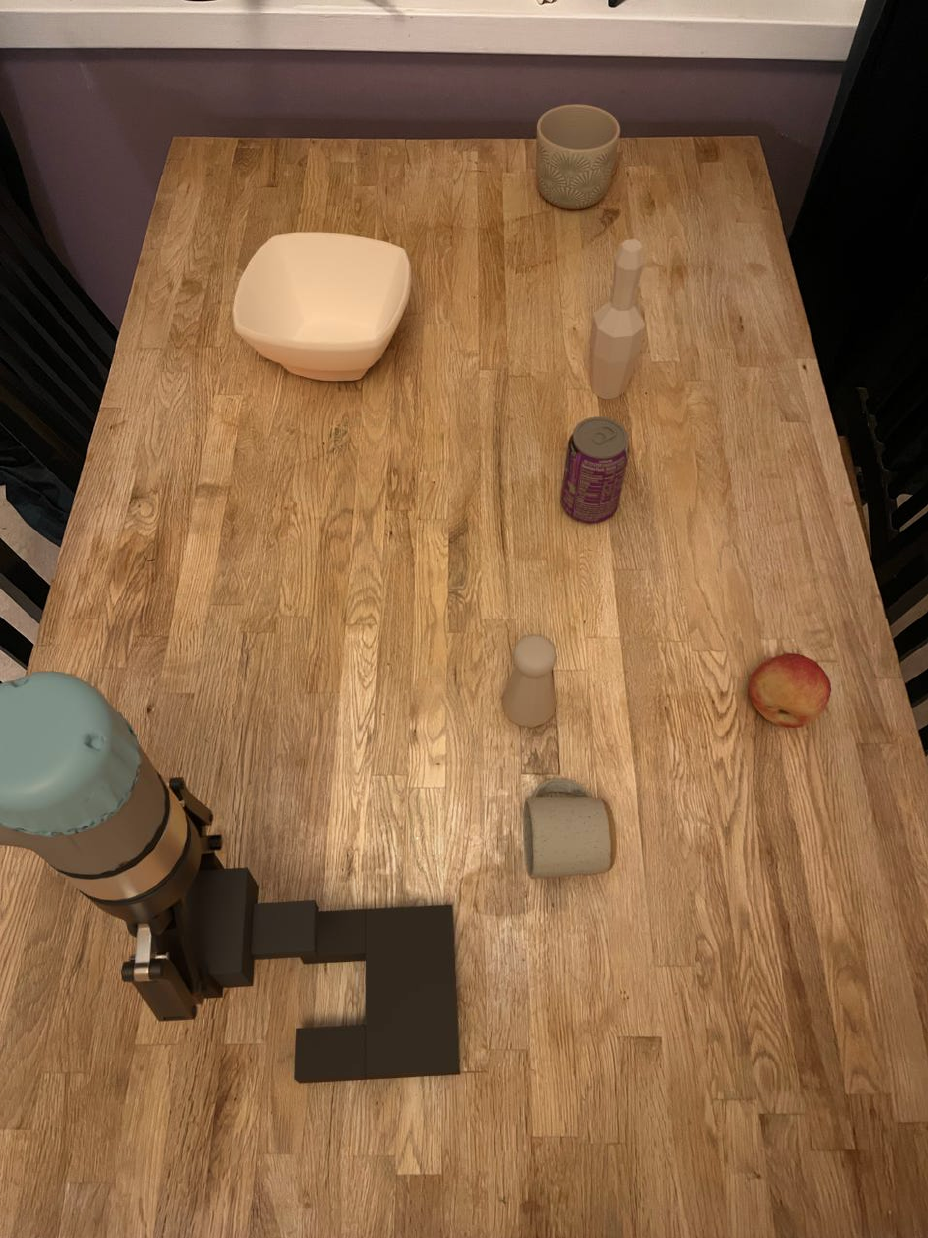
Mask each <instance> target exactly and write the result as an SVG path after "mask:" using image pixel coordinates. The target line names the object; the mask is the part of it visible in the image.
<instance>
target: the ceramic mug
mask: <svg viewBox="0 0 928 1238" xmlns="http://www.w3.org/2000/svg"><path fill="white" fill-rule="evenodd" d="M536 787H537V788H536V789H535V790H534V792H533V794H532V796H528V797H526V798H525V799H524V801H523V811H522V838H523V853H524V862H525V867H526V872H527V876H528V877H529V878H530V879H532V880H539V879H552V878H554V879H555V878H568V877H569V878H570V877H580V876H581V877H582V876H596V875H600V874H605V873H608V872H609V871H611V869H612V868H613V867H614V865H615V864H616V859H617V829H616V821H615V817H614V813H613V810H612V808H611V806H610V804H609V803H608V802H607V801H606V800H605V799H602V798H599V797H598V798H597V797H592V796H591V793H590V792H589V791H588V789H586V787H585V786H583V785H581V784H580V783H578V782H576V781H574V780H571V779H564V778H553V779H548V780H544V781H543V782H541V784H539V785H538V786H536ZM549 793H561V794H563V793H564V794H570V795H571V794H572V795H575V796H576V797H575V796H574V797H573V796H572V797H563V796H561V797H559V796H556V797H555V796H543V795H545V794H549Z"/></svg>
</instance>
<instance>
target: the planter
mask: <svg viewBox="0 0 928 1238" xmlns="http://www.w3.org/2000/svg"><path fill="white" fill-rule="evenodd" d="M620 133H621V126H620V124H619V122H618V120H617V118H616V117H614V116H613V115H612V114H611V113H610V112H608V111H607V110H604V109H602V108H599V107H596V106H592V105H588V104H577V103H576V104H575V103H573V104H564V105H560V106H556V107H553V108H551V109H550V110H548V111H546V112H545V113H542V115H541V116H540V117H539V119H538V121H537V123H536V142H535V143H536V144H535V145H536V147H535V176H536V184H537V188H538V191H539V193H540V195H541V196H542V197H543V199H545V200H546V201H547V202H548V203H549V204H551V205H553V206H555V207H557V208H562V209H565V210H581V209H582V210H583V209H587V208H589V207H592V206H595V205H596V204H597V203H599V202H600V201H601V200H603V198H604V197H605V195H606V194H607V192H608V190H609V188H610V184H611V181H612V176H613V173H614V169H615V168H614V167H615V162H616V157H617V151H618V146H619V139H620Z"/></svg>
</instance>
